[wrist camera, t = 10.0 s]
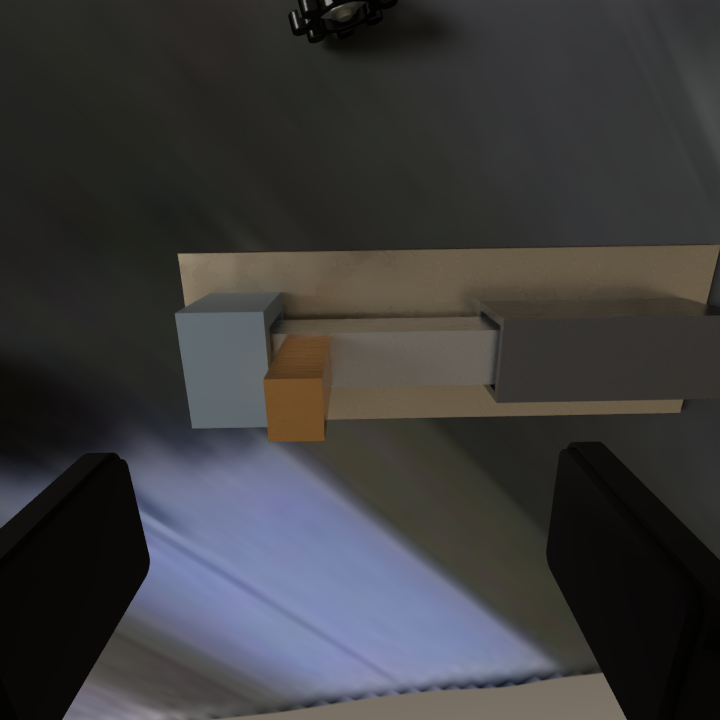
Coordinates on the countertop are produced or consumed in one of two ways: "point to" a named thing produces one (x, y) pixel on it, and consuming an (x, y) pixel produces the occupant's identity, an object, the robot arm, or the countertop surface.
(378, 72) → the countertop surface
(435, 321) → the sliding bar with handle
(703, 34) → the countertop surface
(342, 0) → the valve
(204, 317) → the socket block
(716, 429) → the countertop surface
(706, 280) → the stand
